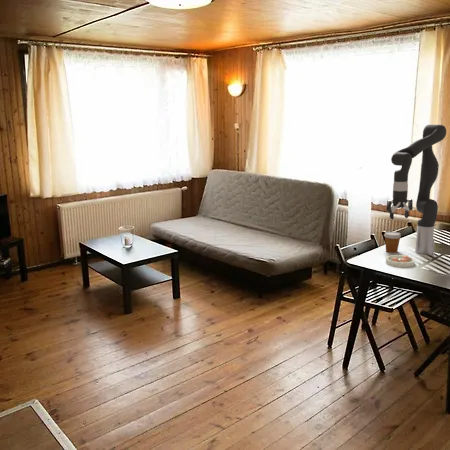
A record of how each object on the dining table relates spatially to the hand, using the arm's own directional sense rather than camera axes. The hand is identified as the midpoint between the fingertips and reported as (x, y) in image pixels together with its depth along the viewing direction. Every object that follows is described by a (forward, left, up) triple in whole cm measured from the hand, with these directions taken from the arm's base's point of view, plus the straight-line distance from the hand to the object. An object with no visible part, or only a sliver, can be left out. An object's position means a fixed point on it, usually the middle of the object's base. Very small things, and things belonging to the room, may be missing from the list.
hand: (399, 218), depth 260 cm
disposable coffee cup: (-4, -19, -26) cm, 32 cm away
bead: (+3, +5, -24) cm, 25 cm away
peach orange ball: (-1, +8, -24) cm, 26 cm away
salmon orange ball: (-4, +3, -24) cm, 25 cm away
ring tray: (-1, +4, -25) cm, 26 cm away
